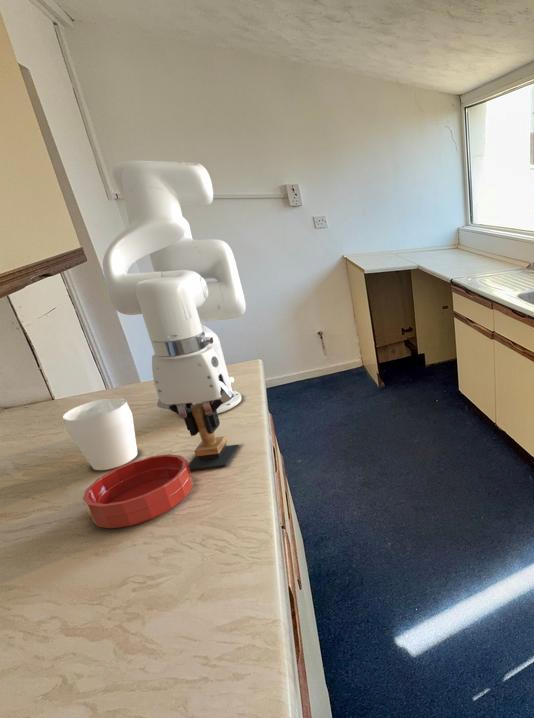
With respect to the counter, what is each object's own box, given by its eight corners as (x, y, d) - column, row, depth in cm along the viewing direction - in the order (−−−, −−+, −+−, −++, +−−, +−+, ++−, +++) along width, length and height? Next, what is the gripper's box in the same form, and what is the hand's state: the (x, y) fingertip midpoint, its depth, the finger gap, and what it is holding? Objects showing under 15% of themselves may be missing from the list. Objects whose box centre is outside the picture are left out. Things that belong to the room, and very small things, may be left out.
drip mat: (202, 450, 84) (201, 448, 84) (239, 446, 85) (238, 444, 85) (185, 471, 77) (184, 469, 77) (225, 466, 79) (225, 464, 79)
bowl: (126, 482, 74) (117, 460, 73) (206, 471, 77) (200, 450, 76) (72, 537, 62) (60, 512, 61) (169, 522, 65) (161, 498, 64)
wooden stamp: (207, 448, 83) (190, 401, 78) (228, 446, 84) (213, 399, 79) (197, 461, 79) (179, 412, 75) (220, 458, 80) (204, 410, 76)
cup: (107, 477, 76) (85, 423, 72) (71, 471, 77) (48, 417, 73) (156, 450, 84) (139, 399, 80) (123, 444, 86) (104, 395, 82)
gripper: (237, 335, 78) (256, 416, 84) (141, 341, 75) (169, 426, 81) (220, 348, 71) (243, 435, 77) (114, 356, 68) (146, 447, 74)
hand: (205, 430), depth 79 cm, fingers closed on wooden stamp, 2 cm apart
